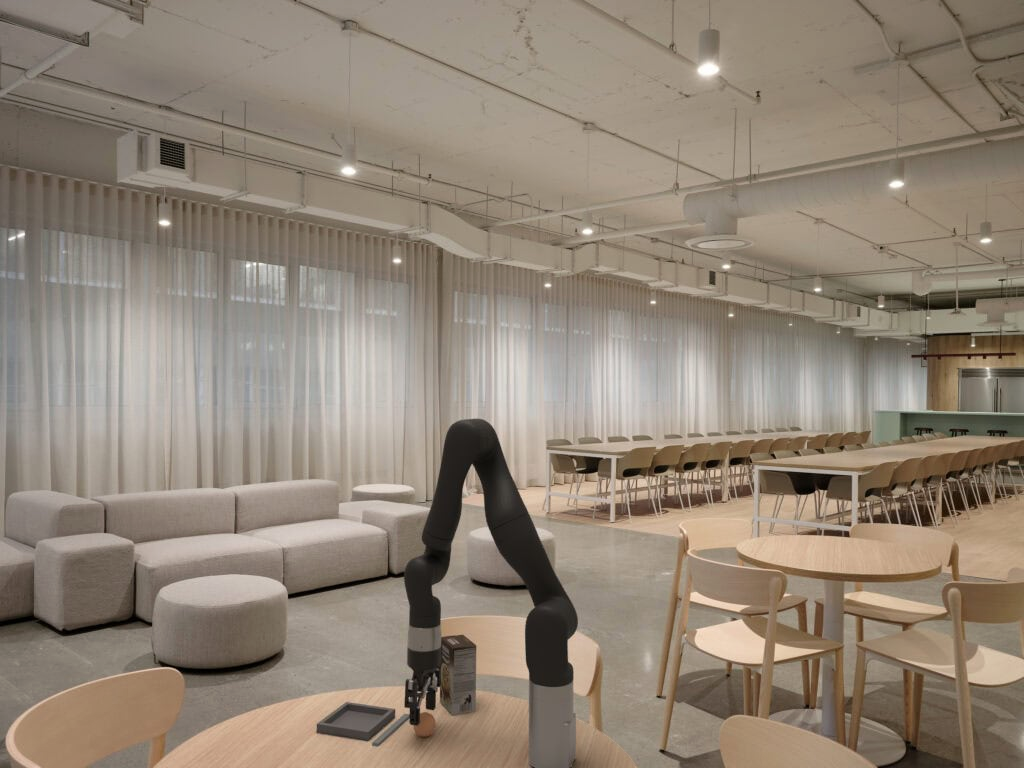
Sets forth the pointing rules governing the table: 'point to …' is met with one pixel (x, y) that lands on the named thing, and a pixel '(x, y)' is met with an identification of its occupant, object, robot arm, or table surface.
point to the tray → (356, 721)
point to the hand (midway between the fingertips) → (422, 716)
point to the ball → (425, 725)
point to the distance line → (390, 730)
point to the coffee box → (458, 674)
